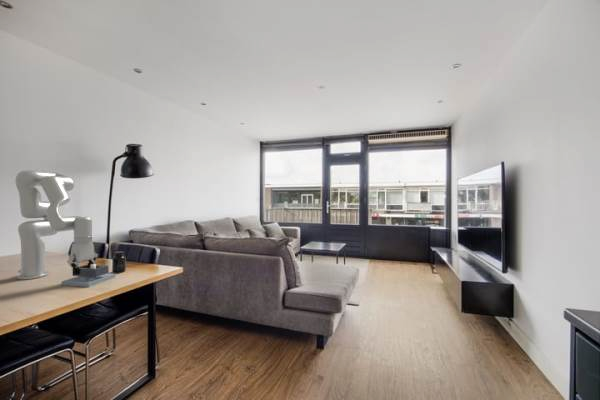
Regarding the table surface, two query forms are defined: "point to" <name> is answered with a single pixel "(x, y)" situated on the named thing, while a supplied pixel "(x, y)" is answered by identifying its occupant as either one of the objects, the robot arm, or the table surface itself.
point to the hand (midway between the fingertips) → (83, 272)
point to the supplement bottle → (119, 262)
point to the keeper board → (88, 279)
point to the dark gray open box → (92, 270)
